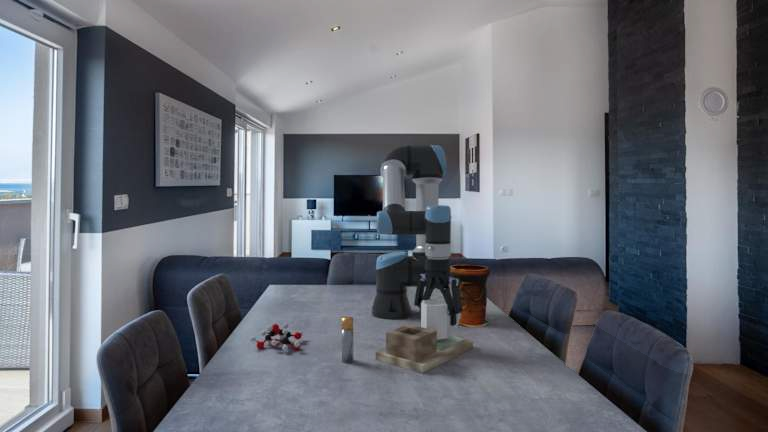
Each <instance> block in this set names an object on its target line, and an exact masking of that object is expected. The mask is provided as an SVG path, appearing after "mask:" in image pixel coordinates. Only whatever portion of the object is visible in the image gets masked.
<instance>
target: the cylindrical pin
mask: <svg viewBox="0 0 768 432" xmlns="http://www.w3.org/2000/svg"><path fill="white" fill-rule="evenodd" d="M341 362H342V363H344V364H351V363H354V317H353V316H342V317H341Z"/></svg>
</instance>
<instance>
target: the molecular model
mask: <svg viewBox="0 0 768 432" xmlns="http://www.w3.org/2000/svg"><path fill="white" fill-rule="evenodd" d="M288 328H289V323H287V322H285V323H284V324H283V329H281V328H280V326H279V324H277V323H274V324H272V325H268V326H267V327H266V331H265V330H262V331H261V332H260V335H261V336H262V337H264V340H263V341H259V340H258V339H256V337H255V336H254V335H253V336H251V337H250V338H249V341H250V342H252V343H253V342H255V343H256V348H257V349H258V350H262V349H264V348H265V343H266V342H267V344H268V345H270V346H273V347H278V346H279V345H280V344H281V345H283V346H282V349H281V350H282V351H284V352H287V351H288V349H289V347H288V346H289V345H290V346H292V349H293V350H294V351H298V350H300V348H301V343H300V342H299V341H296V340H300V339H302V337H303V336H304V332H303V331H301V330H299V331H297V332H295V333H294V334H292V333H291V332H290V331H288ZM274 336H279V339H280V340H279V339H278V338H272V337H274ZM291 337H294V339H295V340H294V341H290V338H291Z"/></svg>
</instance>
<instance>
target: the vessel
mask: <svg viewBox="0 0 768 432" xmlns="http://www.w3.org/2000/svg"><path fill="white" fill-rule="evenodd" d="M490 273H491V271H490V268H489V267H488V266H486V265H478V264H475V265H474V264H460V263H459V264H454V265H451V270H450V275H451V277H452V278H455V279H457V278H459V279H460V283H459V289H460V296H461V302H462V308H463V312H461V317H460V320H459V324H458V325H462V326H465V327H468V328H469V327H472V328H473V327H474V328H476V327H485V326H487V325H488V322H489V321H487V320H486V315H487V314H486V313H487V309H486V308H487V305H488V304H487V302H488V300H487V298H488V297H487V281H488V278H489V276H490Z"/></svg>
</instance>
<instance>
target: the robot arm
mask: <svg viewBox="0 0 768 432" xmlns="http://www.w3.org/2000/svg"><path fill="white" fill-rule="evenodd" d="M447 172H448V171H447V160H446V154H445V151H444V148H443V147H442V146H440V145H435V144H411V145H409V144H404V145H403V144H402V145H398V146H396V147H393V149H391V150H389V151H388V152H387V154H385V156H384V157H383V159H382V161H381V163H380V175H381V177H382V210H379V211H377V212H376V232H377V233H378V234H379V235H389V236H392V235H393V236H395V235H396V236H399V235H401V236H403V235H416V236H415V238H416V239H415V241H416V246H415V248H414V249H413V250H412V255H408V254H407V252H405V251H396V252H395V251H394V252H389V253H383V254H381V255H379V256H378V257H377V258H376V267H375V270H376V275H375V278H376V281H375V282H376V283H375V284H376V287H375V289H376V293H375V298H374V301H373V303H372V304H373V305H372V307H371V314H372V316H373V317H374V318H378V319H387V320H388V319H389V320H390V319H392V320H393V319H396V320H397V319H402V318H408V317H410V316H411V315H412V306H411V304H410V300H409V298H408V297H409V296H408V293H407V290H408V289H407V288H408V287H411V288H413V287H414V288H416V290H415V291H416V292H415V296H414V301H413V302H414V303H413V305H414V306H415V307H418V309H419V319H420V320H421V302H422V301H423V300H428V299H431V297H432V295H433V292H434V290H435V289H436V290H439V291H440V293H441V294H442V298H443V300H444V301H445V302H446V304H447V308H448V310H449V314H448V315H447V337H451V336H455V328H454V325H456V323H457V314H458V313H461V312H463V308H462V302H461V296H460V289H459V283H460V279H459V278H457V279H455V278H452V275H451V273H450V270H451V266H452V264H451V263H452V262H451V261H452V260H451V258H450V257H451V256H452V251H451V250H452V249H451V248H452V244H451V243H452V242H451V241H452V240H451V239H452V238H451V236H452V231H451V229H452V217H453V216H452V212H451V210H452V208H451V207H450V206H449V205H442V204H441V205H439V202H440V201H439V184H440V183H441V182H443V177H444V176H446V175H447ZM405 176H411V181H412V182H413V183H414V184H415V205H416V206H415V209H416V210H406V196H405V195H406V193H405V190H406V189H405Z"/></svg>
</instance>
